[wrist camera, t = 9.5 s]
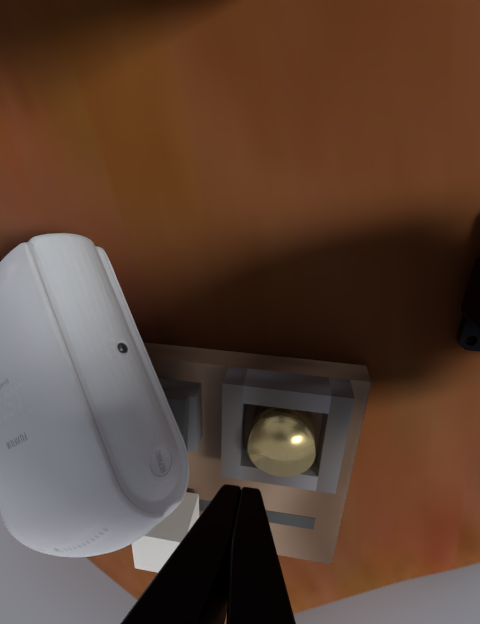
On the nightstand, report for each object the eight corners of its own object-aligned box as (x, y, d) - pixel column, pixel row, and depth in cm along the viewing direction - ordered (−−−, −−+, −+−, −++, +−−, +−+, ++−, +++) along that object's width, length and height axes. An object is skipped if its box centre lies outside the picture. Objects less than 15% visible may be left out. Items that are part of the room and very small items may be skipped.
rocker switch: (189, 393, 17) (184, 400, 16) (186, 475, 18) (181, 485, 17) (134, 387, 17) (127, 393, 17) (133, 467, 18) (126, 477, 17)
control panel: (366, 365, 18) (377, 401, 16) (329, 541, 24) (333, 590, 21) (128, 340, 20) (101, 369, 17) (147, 510, 26) (128, 552, 23)
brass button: (317, 402, 18) (319, 429, 16) (310, 450, 19) (311, 481, 17) (253, 394, 18) (248, 420, 16) (251, 442, 19) (246, 471, 18)
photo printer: (14, 223, 12) (146, 580, 11) (115, 233, 16) (226, 500, 14) (-73, 336, 18) (6, 586, 16) (18, 324, 21) (90, 527, 20)
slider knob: (198, 494, 21) (184, 542, 19) (199, 527, 23) (185, 577, 20) (151, 486, 22) (130, 533, 19) (154, 519, 23) (135, 568, 20)
